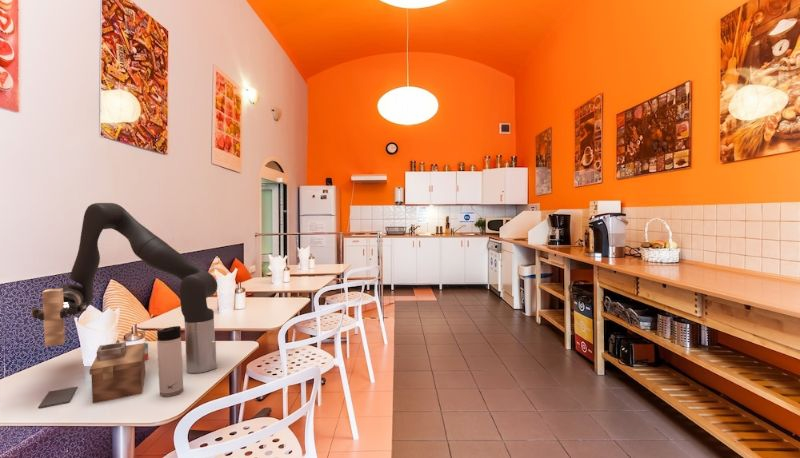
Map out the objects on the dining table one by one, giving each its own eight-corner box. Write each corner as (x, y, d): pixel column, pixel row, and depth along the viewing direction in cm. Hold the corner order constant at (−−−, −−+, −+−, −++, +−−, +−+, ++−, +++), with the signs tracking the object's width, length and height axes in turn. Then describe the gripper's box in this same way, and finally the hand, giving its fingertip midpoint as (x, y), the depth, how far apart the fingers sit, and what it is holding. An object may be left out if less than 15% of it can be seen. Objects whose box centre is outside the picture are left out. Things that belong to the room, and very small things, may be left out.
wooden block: (65, 340, 126) (63, 288, 125) (62, 344, 122) (59, 290, 122) (48, 343, 124) (45, 289, 123) (44, 346, 120) (42, 291, 120)
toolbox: (146, 371, 144) (144, 333, 143) (142, 394, 125) (140, 351, 124) (101, 379, 137) (99, 340, 137) (91, 404, 119) (88, 359, 118)
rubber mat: (77, 387, 131) (77, 386, 131) (69, 402, 120) (69, 401, 120) (49, 392, 127) (48, 391, 127) (38, 408, 117) (38, 407, 117)
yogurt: (144, 359, 156) (143, 342, 156) (148, 359, 156) (147, 342, 156) (124, 371, 144) (123, 353, 144) (129, 371, 144) (128, 353, 144)
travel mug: (174, 397, 122) (171, 330, 121) (154, 396, 123) (151, 329, 122) (189, 388, 128) (186, 324, 127) (170, 387, 129) (167, 323, 129)
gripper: (35, 295, 132) (18, 305, 117) (91, 290, 139) (81, 300, 123) (37, 318, 132) (19, 332, 117) (92, 312, 139) (82, 325, 124)
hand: (51, 315), depth 120 cm, fingers closed on wooden block, 4 cm apart
